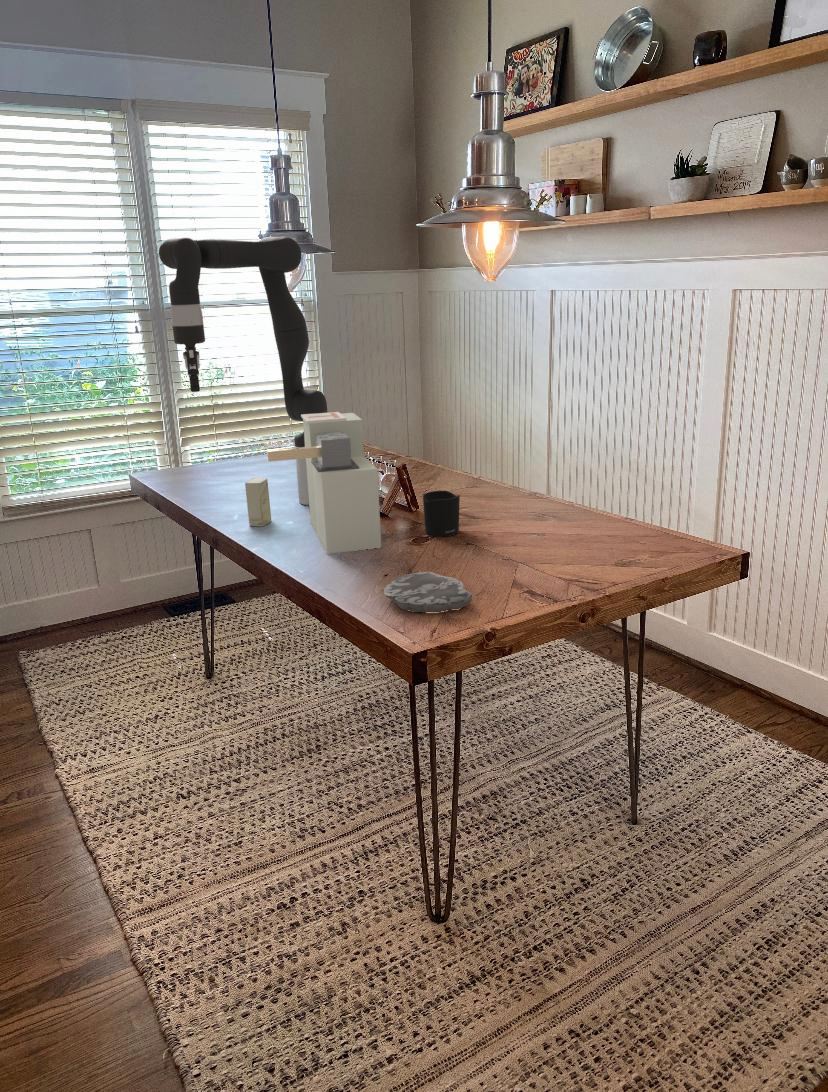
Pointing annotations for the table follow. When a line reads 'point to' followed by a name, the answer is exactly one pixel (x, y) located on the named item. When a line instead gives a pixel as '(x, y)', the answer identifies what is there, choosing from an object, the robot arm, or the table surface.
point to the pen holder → (441, 513)
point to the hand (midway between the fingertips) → (195, 389)
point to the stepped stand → (342, 489)
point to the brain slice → (427, 592)
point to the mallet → (319, 451)
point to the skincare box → (258, 501)
